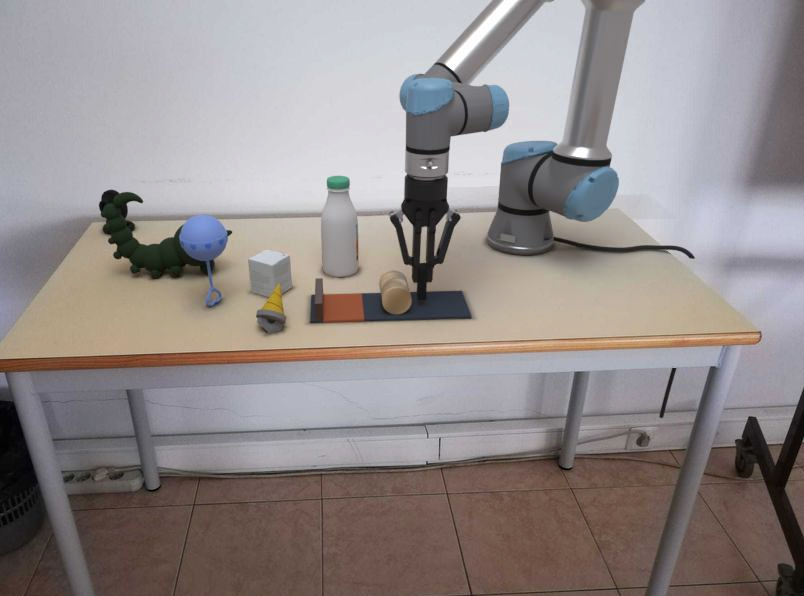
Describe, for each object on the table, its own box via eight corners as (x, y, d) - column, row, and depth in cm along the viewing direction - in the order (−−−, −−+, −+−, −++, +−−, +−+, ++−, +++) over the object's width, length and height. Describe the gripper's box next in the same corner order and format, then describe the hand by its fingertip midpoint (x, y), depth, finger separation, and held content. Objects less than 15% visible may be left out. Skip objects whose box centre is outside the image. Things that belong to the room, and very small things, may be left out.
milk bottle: (354, 279, 142) (352, 184, 132) (318, 276, 143) (314, 182, 133) (362, 264, 149) (361, 173, 138) (327, 262, 150) (324, 171, 140)
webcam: (96, 231, 167) (87, 191, 162) (120, 222, 172) (112, 183, 167) (118, 237, 163) (109, 196, 158) (142, 228, 169) (134, 188, 163)
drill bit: (249, 332, 123) (261, 282, 126) (276, 341, 125) (288, 290, 128) (256, 327, 118) (269, 274, 121) (285, 335, 120) (297, 283, 123)
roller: (382, 267, 131) (376, 292, 133) (386, 285, 124) (378, 311, 127) (410, 273, 132) (403, 298, 134) (415, 291, 125) (407, 317, 128)
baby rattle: (213, 319, 127) (201, 227, 118) (180, 308, 131) (165, 218, 122) (244, 301, 133) (235, 213, 124) (211, 291, 137) (200, 205, 128)
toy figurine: (118, 290, 141) (237, 277, 142) (90, 202, 132) (218, 188, 132) (128, 272, 149) (242, 259, 150) (103, 188, 140) (224, 174, 140)
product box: (269, 281, 141) (266, 248, 137) (293, 287, 138) (291, 254, 135) (250, 292, 137) (247, 258, 133) (274, 299, 134) (272, 265, 130)
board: (461, 292, 136) (462, 274, 134) (471, 318, 127) (473, 299, 125) (311, 296, 135) (310, 278, 133) (310, 323, 125) (309, 303, 123)
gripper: (390, 181, 115) (388, 307, 126) (467, 180, 115) (458, 305, 127) (387, 169, 121) (385, 289, 133) (459, 168, 122) (451, 287, 134)
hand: (421, 297), depth 130 cm, fingers closed
